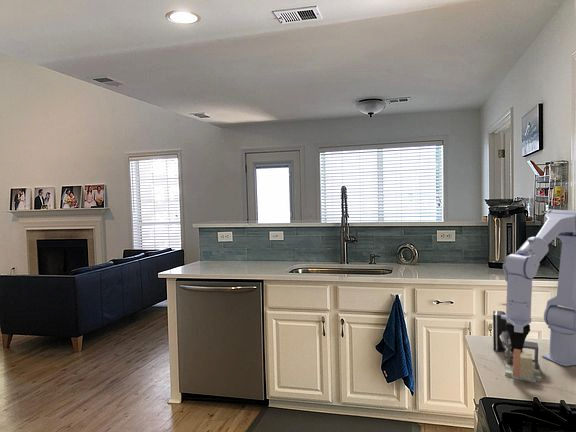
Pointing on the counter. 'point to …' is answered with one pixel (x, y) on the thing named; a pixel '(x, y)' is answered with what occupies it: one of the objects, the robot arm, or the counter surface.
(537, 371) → the track board
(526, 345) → the grey box
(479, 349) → the counter surface
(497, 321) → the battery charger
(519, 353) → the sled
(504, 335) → the tin
